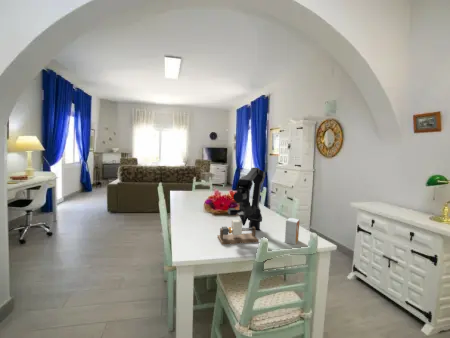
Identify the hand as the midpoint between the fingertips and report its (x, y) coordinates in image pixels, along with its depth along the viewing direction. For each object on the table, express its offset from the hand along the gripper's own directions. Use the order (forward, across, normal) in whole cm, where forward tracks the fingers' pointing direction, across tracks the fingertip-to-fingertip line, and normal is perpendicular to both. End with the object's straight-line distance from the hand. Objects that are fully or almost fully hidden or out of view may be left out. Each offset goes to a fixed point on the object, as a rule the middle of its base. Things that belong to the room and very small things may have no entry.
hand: (243, 225), depth 141 cm
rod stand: (+9, -3, 0) cm, 9 cm away
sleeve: (+5, -4, 0) cm, 6 cm away
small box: (+9, +28, -8) cm, 30 cm away
